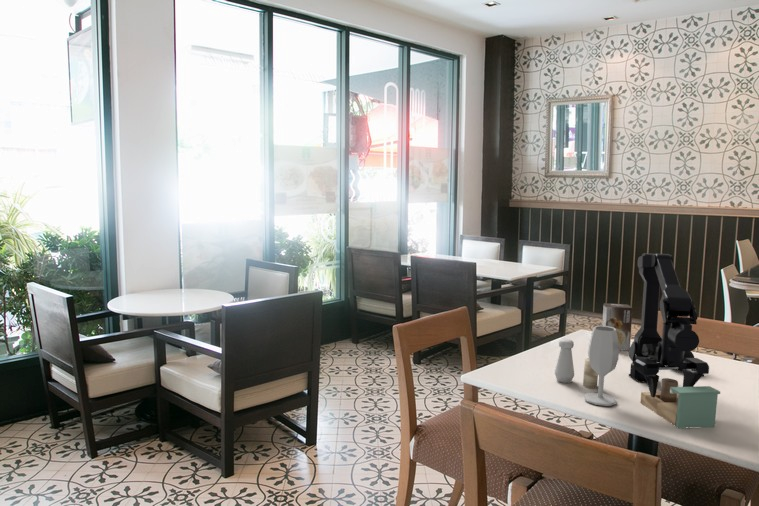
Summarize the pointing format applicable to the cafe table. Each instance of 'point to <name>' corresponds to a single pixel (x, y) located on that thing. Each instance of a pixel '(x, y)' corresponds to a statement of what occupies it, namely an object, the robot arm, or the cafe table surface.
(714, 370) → the cafe table surface
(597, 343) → the wineglass
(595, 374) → the maple peg
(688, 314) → the robot arm
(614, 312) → the coffee box
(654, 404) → the socket block
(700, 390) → the teal l-shaped bracket
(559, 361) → the salt shaker
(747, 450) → the cafe table surface
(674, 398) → the walnut peg
